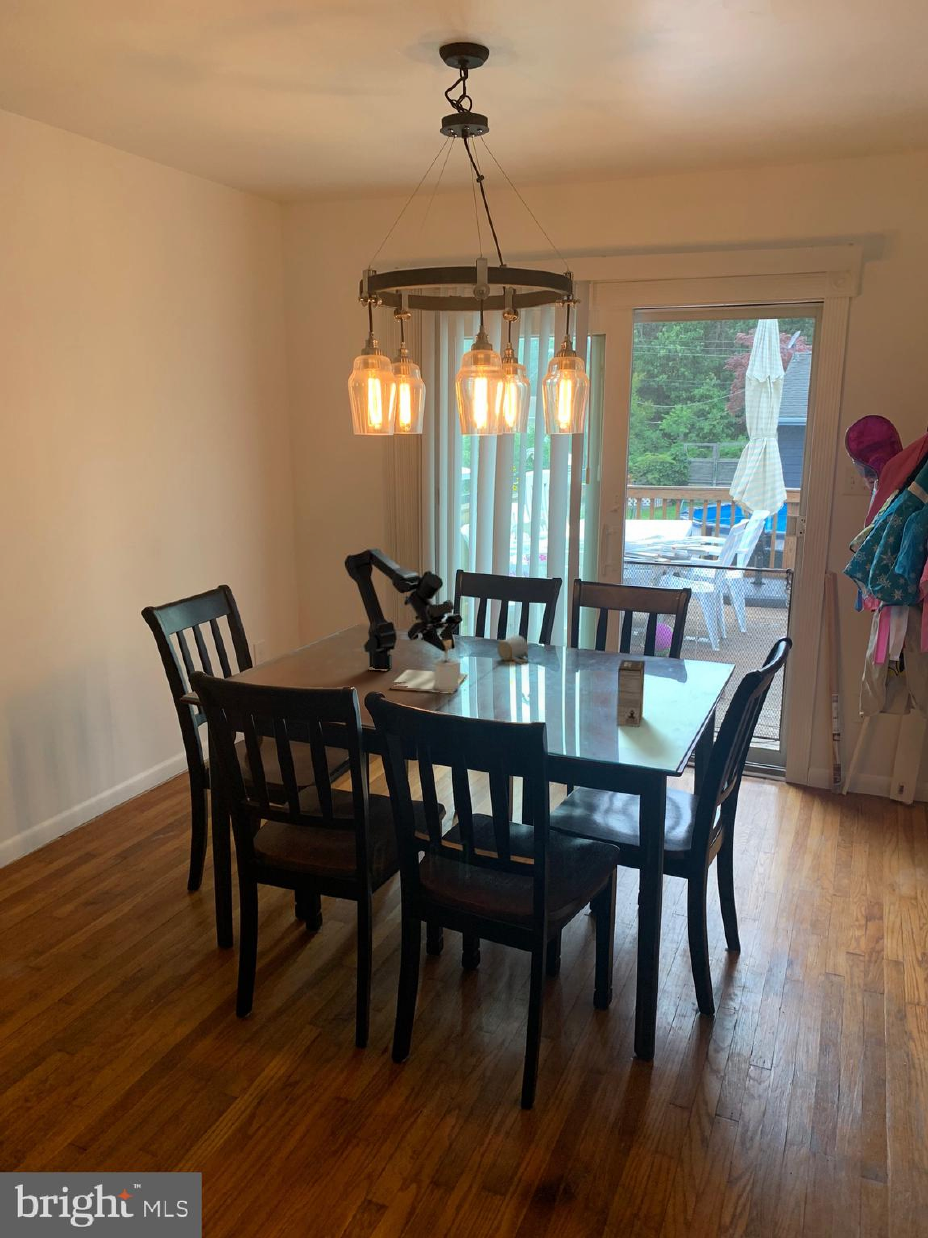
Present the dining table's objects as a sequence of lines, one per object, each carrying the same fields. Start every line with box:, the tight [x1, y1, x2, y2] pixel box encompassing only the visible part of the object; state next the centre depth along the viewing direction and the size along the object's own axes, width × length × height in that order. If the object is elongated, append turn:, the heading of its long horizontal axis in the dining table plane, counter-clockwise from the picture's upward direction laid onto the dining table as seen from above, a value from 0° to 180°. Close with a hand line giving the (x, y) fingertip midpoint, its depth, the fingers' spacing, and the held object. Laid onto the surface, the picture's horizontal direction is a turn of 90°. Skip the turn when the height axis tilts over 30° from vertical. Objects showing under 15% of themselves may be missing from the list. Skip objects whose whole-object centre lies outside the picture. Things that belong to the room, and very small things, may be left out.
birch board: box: [393, 669, 468, 694], centre depth 277 cm, size 20×18×1 cm
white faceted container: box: [433, 657, 461, 690], centre depth 270 cm, size 9×8×8 cm
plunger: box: [440, 638, 453, 662], centre depth 269 cm, size 5×5×9 cm
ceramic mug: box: [496, 635, 530, 664], centre depth 302 cm, size 11×8×8 cm
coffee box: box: [616, 659, 646, 728], centre depth 241 cm, size 9×6×16 cm
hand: (449, 649), depth 267 cm, fingers open, 4 cm apart
